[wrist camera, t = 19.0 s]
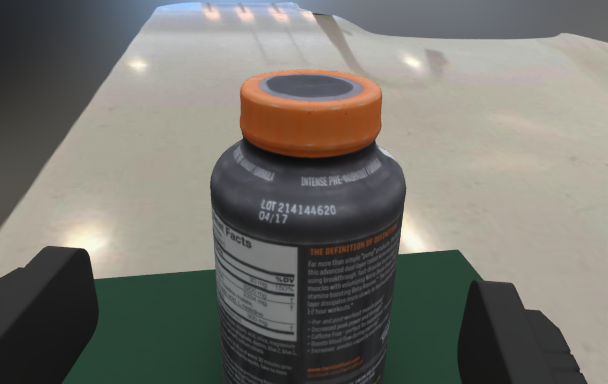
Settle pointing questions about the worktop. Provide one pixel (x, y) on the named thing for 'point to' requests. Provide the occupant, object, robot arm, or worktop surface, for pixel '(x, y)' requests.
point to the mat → (206, 338)
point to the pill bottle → (306, 232)
